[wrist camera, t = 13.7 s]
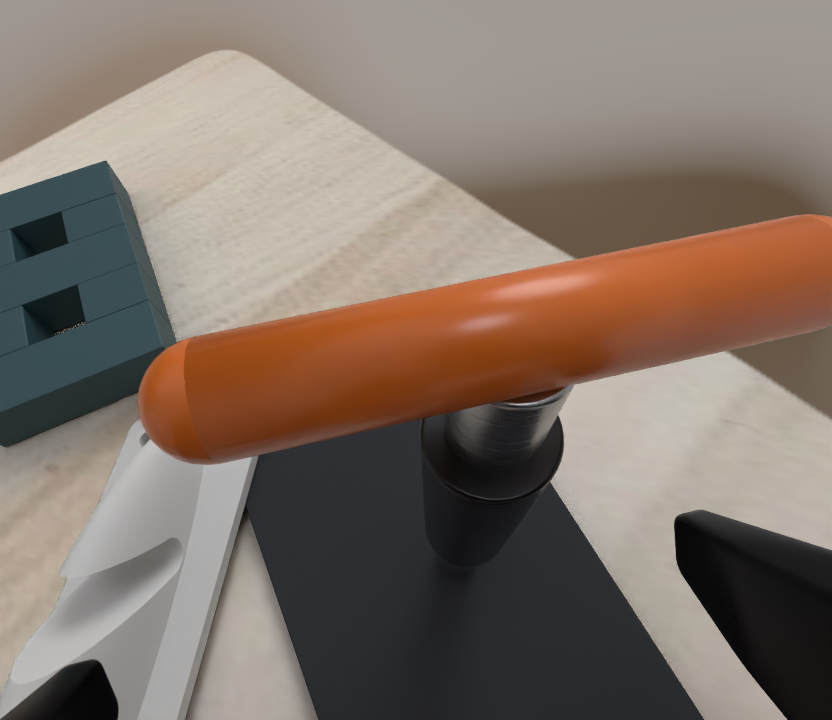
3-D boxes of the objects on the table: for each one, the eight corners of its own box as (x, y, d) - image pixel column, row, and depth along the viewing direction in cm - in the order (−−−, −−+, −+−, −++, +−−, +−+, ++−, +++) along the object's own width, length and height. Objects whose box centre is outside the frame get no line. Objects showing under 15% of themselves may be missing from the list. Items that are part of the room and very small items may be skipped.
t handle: (545, 502, 21) (828, 150, 6) (567, 562, 20) (977, 310, 5) (348, 550, 21) (117, 286, 5) (358, 615, 20) (99, 508, 4)
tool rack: (186, 371, 26) (163, 346, 23) (5, 448, 24) (-38, 428, 22) (128, 193, 32) (105, 159, 30) (-19, 243, 30) (-54, 211, 28)
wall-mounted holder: (220, 381, 19) (-99, 1317, 10) (266, 427, 23) (71, 1127, 14) (75, 373, 20) (-344, 1211, 11) (142, 419, 24) (-121, 1063, 15)
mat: (769, 828, 17) (778, 832, 16) (445, 1082, 14) (446, 1095, 14) (464, 356, 26) (465, 351, 25) (233, 464, 23) (229, 460, 23)
